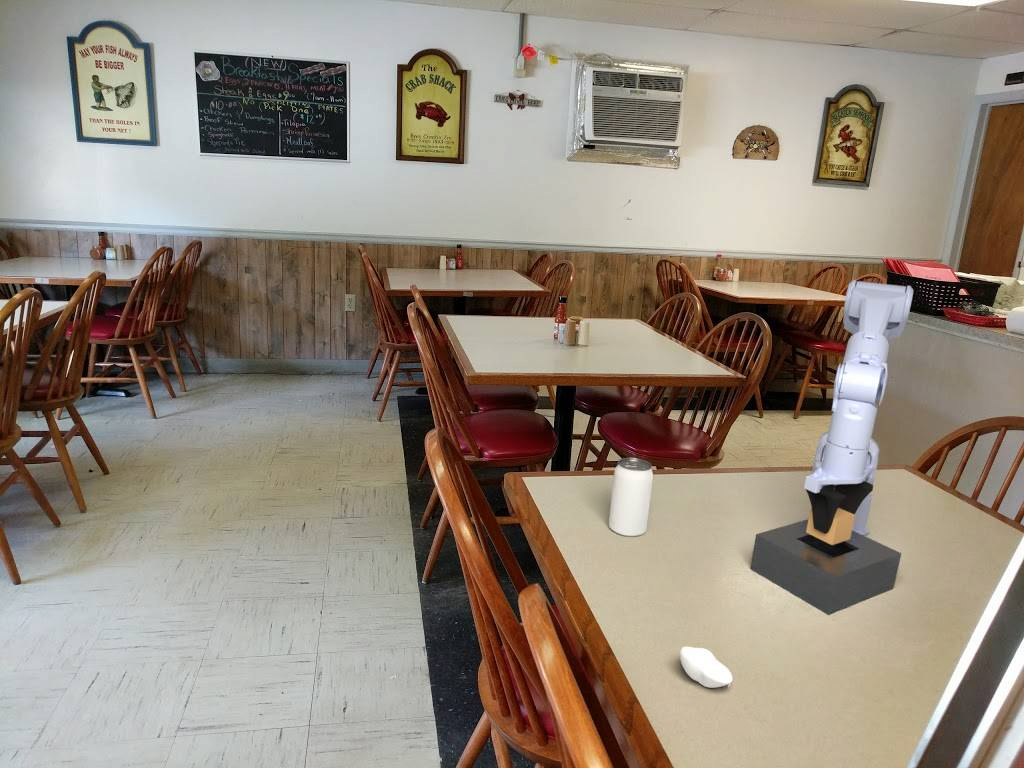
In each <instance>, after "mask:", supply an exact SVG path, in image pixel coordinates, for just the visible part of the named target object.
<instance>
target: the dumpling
mask: <svg viewBox="0 0 1024 768" xmlns="http://www.w3.org/2000/svg"><path fill="white" fill-rule="evenodd" d="M679 659H680V663H681V665H682V668H683V670H684V671H685V673H686V674H687V675H688V676H689V677H690V678H691V679H692V680H693V681H695V682H697V683H699V684H700V685H702V686H703V687H705V688H709V689H711V688H713V689H714V688H720V687H725V686H727V685H728V686H727V687H728V688H729V687H730V686H731V684H732V682H733V675H732V673H731V671H730V670H729V668H728V667H727V666H725V665H724V664H723V663H721V662H720V661H719V660H718V659H716V657H715V655H714V654H713V653H712V652H711V651H710V650H709V649H706V648H703V647H693V646H688V645H687V646H682V647H680V651H679ZM732 660H733V658H732Z"/></svg>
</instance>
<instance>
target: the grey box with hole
mask: <svg viewBox="0 0 1024 768" xmlns="http://www.w3.org/2000/svg"><path fill="white" fill-rule="evenodd" d="M808 520H809V518H807V519H804V520H801V521H798V522H794V523H791V524H787V525H784V526H783V525H782V526H780V527H777V528H773V529H769V530H767V531H762V532H759V533H756V534H755V538H754V539H755V540H754V544H753V551H752V556H751V562H750V570H751V571H753V572H755V573H757V574H758V575H760V576H762V577H763V578H765V579H766V580H768V581H770V582H772V583H773V584H775V585H777V586H779V587H780V588H782V589H783V590H785V591H787V592H788V593H791V595H792V594H793V595H794V596H796V597H797V598H799V599H801V600H802V601H804V602H806V603H807V604H809V605H811V606H813V607H814V608H817V609H818V610H819V611H821V612H823V613H824V614H827V615H828V616H830V615H832V614H834V613H837V612H839V611H842V610H844V609H847V608H850V607H852V606H854V605H857V604H859V603H862V602H864V601H867V600H869V599H871V598H873V597H876V596H879V595H881V594H884V593H886V592H889V591H891V590H894V588H895V583H896V579H897V575H898V571H899V567H900V566H899V565H900V561H901V557H902V554H903V553H902V552H899V551H897V550H895V549H893V548H891V547H888V545H887V546H886V545H884V544H883V543H881V542H878V541H876V540H874V539H872V538H869V537H868V536H865V535H861V534H859V533H857V532H855V531H853V530H852V533H851V538H850V539H849V540H846V541H843V542H840V543H837V544H834V545H831V544H829V543H827V542H825V541H823V540H821V539H819V538H816V537H814V536H812V535H810V534H808V533H806V530H807V525H808Z"/></svg>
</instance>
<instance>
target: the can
mask: <svg viewBox="0 0 1024 768" xmlns="http://www.w3.org/2000/svg"><path fill="white" fill-rule="evenodd" d="M613 472H614V473H613V481H612V489H611V490H612V491H611V498H610V509H609V516H608V517H609V519H608V527H609V528H610V530H611V531H612V532H613V533H615V534H617V535H620V536H622V537H629V538H631V537H632V538H633V537H634V538H635V537H640V536H642V535H644V534H645V533H646V532H647V527H648V521H649V515H650V514H649V512H650V503H651V496H652V487H653V480H654V479H653V478H654V472H653V470H652V463H650V462H649V461H647V460H644V459H641V458H636V457H625V458H624V457H623V458H620V459H619V460H618V462H617V465H616V467H615V468H614V471H613Z"/></svg>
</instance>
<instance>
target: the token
mask: <svg viewBox="0 0 1024 768" xmlns="http://www.w3.org/2000/svg"><path fill="white" fill-rule="evenodd" d="M809 509H810V510H809V514H808V515H809V516H808V519H809V520H808V525H807V530H806V533H808V534H810V535H812V536H814V537H816V538H819V539H821V540H823V541H825V542H827V543H829V544H831V545H834V544H837V543H840V542H843V541H846V540H849V539H850V538H851V533H852V528H853V523H854V518H855V515H854V514H852V513H850V512H847V511H845V510H843V509H840V508H838V509H837V511H836V513H835V516H834V519H833V523H832V526H831V528H830V530H829V532H828V533H826V534H824V533H822V532H820V531H818V530H816V529H814V525H813V514H812V507H810V508H809Z"/></svg>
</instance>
